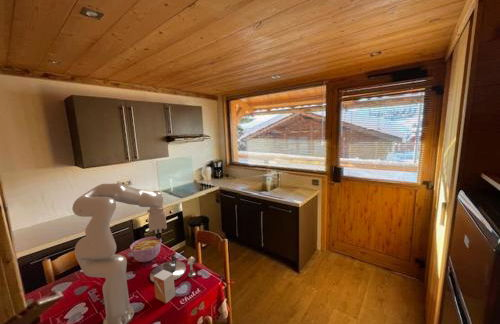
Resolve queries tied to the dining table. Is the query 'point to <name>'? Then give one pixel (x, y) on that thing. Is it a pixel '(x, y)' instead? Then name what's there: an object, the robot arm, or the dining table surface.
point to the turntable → (177, 274)
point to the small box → (164, 286)
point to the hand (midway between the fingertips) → (158, 238)
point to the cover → (170, 266)
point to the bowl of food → (146, 249)
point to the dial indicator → (191, 266)
